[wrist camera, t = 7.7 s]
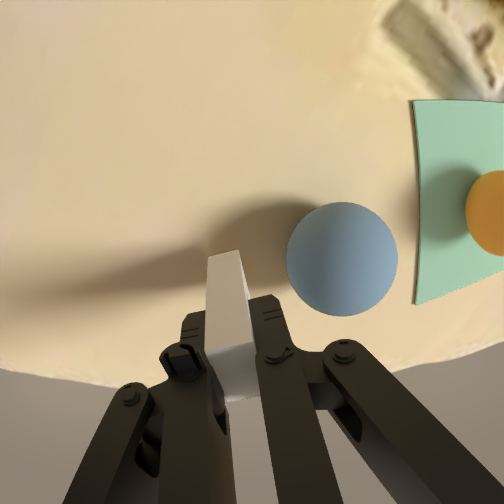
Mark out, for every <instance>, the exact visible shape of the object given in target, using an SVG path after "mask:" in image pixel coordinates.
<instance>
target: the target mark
mask: <svg viewBox="0 0 504 504" xmlns="http://www.w3.org/2000/svg"><path fill="white" fill-rule="evenodd" d="M412 104H413V111H414V119H415V128H416V138H417V150H418V164H419V186H420V238H419V260H418V274H417V286H416V296H415V305H419V304H422V303H424V302H427V301H430V300H432V299H435V298H438V297H440V296H443V295H445V294H448V293H450V292H453V291H455V290H458V289H460V288H463V287H465V286H467V285H470V284H472V283H474V282H477V281H479V280H481V279H484V278H486V277H488V276H490V275H493V274H495V273H497V272H499V271H501V270H503V269H504V256H496V255H493V254H491V253H488V252H487V251H485V250H483V249H482V248H481V247H480V246H479V245H478V244H477V243H476V242H475V240H474V239H473V237H472V236H471V234H470V232H469V229H468V226H467V223H466V217H465V205H466V199H467V196H468V193H469V191H470V189H471V187H472V185H473V184H474V183H475V181H476V180H477V179H478V178H480V177H481V176H482V175H484V174H486V173H488V172H491V171H495V170H503V171H504V103H498V102H483V101H460V100H417V101H412Z"/></svg>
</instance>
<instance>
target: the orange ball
mask: <svg viewBox="0 0 504 504" xmlns="http://www.w3.org/2000/svg"><path fill="white" fill-rule="evenodd" d="M465 217H466V223H467V226H468V229H469V232H470V234H471V236H472V237H473V239H474V240H475V242H476V243H477V244H478V245H479V246H480V247H481V248H482V249H483V250H485V251H487V252H488V253H491V254H493V255H496V256H504V171H503V170H495V171H491V172H488V173H486V174H484V175H482V176H481V177H480V178H478V179H477V180H476V181H475V183H474V184H473V185H472V187H471V189H470V191H469V193H468V196H467V199H466V205H465Z"/></svg>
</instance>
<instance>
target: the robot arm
mask: <svg viewBox="0 0 504 504" xmlns="http://www.w3.org/2000/svg"><path fill="white" fill-rule="evenodd" d="M180 339H181V340H180V342H178V343H174V344H172V345H170V346H169V347H167V348H166V349H165V350H164V351H163V352H162V353H161V355H160V357H159V360H160V362H161V364H162V366H163V367H164V369H165V371H166V373H167V374H168V376H169V377H168V379H167V380H166V381H164V382H162V383H160V384H158V385H156V386H153V387H151V388H148V389H147V387H146V386H145V385H144V384H142V383H138V382H134V383H129V384H126V385H124V386H123V387H121V388H120V389H119V390H118V391H117V392H116V394H115V396H114V397H113V399H112V401H111V403H110V405H109V407H108V409H107V411H106V413H105V415H104V417H103V418H102V420H101V423H100V425H99V426H98V429H97V430H96V433H95V434H94V437H93V439H92V441H91V443H90V445H89V447H88V449H87V451H86V453H85V455H84V457H83V459H82V462H81V464H80V466H79V468H78V470H77V472H76V474H75V477H74V479H73V481H72V483H71V485H70V487H69V490H68V492H67V494H66V496H65V499H64V501H63V503H62V504H237V503H236V492H235V482H234V472H233V461H232V449H231V437H230V425H229V414H228V411H227V408H226V406H225V401H224V396H225V398H226V400H227V402H232V401H237V400H243V399H248V398H253V397H257V396H261V402H262V408H263V413H264V419H265V426H266V432H267V438H268V444H269V450H270V455H271V462H272V467H273V473H274V479H275V485H276V490H277V496H278V501H279V504H343V500H342V497H341V493H340V490H339V487H338V484H337V480H336V477H335V473H334V470H333V467H332V464H331V460H330V457H329V454H328V450H327V447H326V444H325V440H324V437H323V434H322V431H321V427H320V424H319V421H318V418H317V414H316V411H315V410H328V412H329V413H330V414H331V416H332V417H333V419H334V420H335V421H336V423H337V424H338V425H339V427H340V428H341V430H342V431H343V432H344V434H345V435H346V436H347V438H348V439H349V440H350V442H351V443H352V444H353V446H354V447H355V449H356V450H357V451H358V453H359V454H360V455H361V456H362V458H363V459H364V461H365V462H366V463H367V464H368V466H369V467H370V469H371V470H372V471H373V473H374V474H375V475H376V477H377V478H378V479H379V480H380V482H381V483H382V484H383V486H384V487H385V488H386V490H387V491H388V492H389V493H390V495H391V496H392V497H393V499H394V500H395V501H396V503H397V504H504V487H503V486H502V485H501V484H500V482H498V480H497V479H496V478H495V477H494V476H493V475H492V474H491V473H490V472H489V471H488V470H487V469H486V468H485V467H484V466H483V465H482V464H481V463H480V462H479V461H478V460H477V459H476V458H475V457H474V456H473V455H472V454H471V453H470V452H469V451H468V450H467V449H466V448H465V447H464V446H463V445H462V444H461V443H460V442H459V441H458V440H457V439H456V438H455V437H454V436H453V435H452V434H451V433H450V432H449V431H448V430H447V429H446V428H445V427H444V426H443V425H442V424H441V423H440V422H439V421H438V420H437V419H436V418H435V417H434V416H433V415H432V414H431V413H430V412H429V411H428V410H427V409H426V408H425V407H424V406H423V405H422V404H421V403H420V402H419V401H418V400H417V399H416V398H415V397H414V396H413V395H412V394H411V393H410V392H409V391H408V390H407V389H406V388H405V387H404V386H403V385H402V384H401V383H400V382H399V381H398V380H397V379H396V378H395V377H394V376H393V375H392V374H391V373H390V372H389V371H388V370H387V369H386V368H385V367H384V366H383V365H382V364H381V363H380V362H379V361H378V360H377V359H376V358H375V357H374V356H373V355H372V354H371V353H370V352H369V351H368V350H367V349H366V348H365V347H364V346H363V345H362V344H360V343H358V342H357V341H354V340H350V339H340V340H337V341H334V342H332V343H330V344H329V345H328V346H326V348H325V349H324V351H323V352H308V351H304V350H301V349H299V348H297V347H296V346H295V345H294V344H293V342H292V340H291V337H290V333H289V330H288V327H287V324H286V321H285V318H284V314H283V311H282V308H281V305H280V302H279V300H278V299H277V298H276V297H274V296H273V295H272V294H270V295H266V296H262V297H258V298H253V299H251V298H250V293H249V290H248V286H247V282H246V278H245V274H244V270H243V266H242V262H241V258H240V255H239V251H238V250H234V251H230V252H226V253H222V254H217V255H213V256H209V257H208V266H207V288H206V310H204V311H199V312H194V313H190V314H188V315H187V316H186V318H185V319H184V321H183V322H182V328H181V336H180Z"/></svg>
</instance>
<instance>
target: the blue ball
mask: <svg viewBox="0 0 504 504" xmlns="http://www.w3.org/2000/svg"><path fill="white" fill-rule="evenodd" d="M397 263H398V255H397V248H396V243H395V240H394V238H393V235H392V233H391V231H390V229H389V228H388V226H387V225H386V224H385V222H384V221H383V220H382V219H381V218H380V217H379V216H378V215H377V214H375V213H374V212H372V211H371V210H369V209H367V208H366V207H363V206H361V205H358V204H354V203H347V202H337V203H330V204H327V205H323V206H321V207H318V208H316V209H315V210H313V211H311V212H310V213H309V214H307V215H306V216H305V217H304V218H303V219H302V220H301V221H300V222H299V223H298V225H297V226H296V227H295V229H294V231H293V232H292V234H291V237H290V239H289V242H288V246H287V250H286V268H287V273H288V277H289V280H290V282H291V284H292V286H293V288H294V290H295V292H296V293H297V294H298V296H299V297H300V298H301V299H302V300H303V301H304V302H305V303H306V304H308V305H309V306H310V307H312V308H313V309H315V310H317V311H319V312H321V313H324V314H327V315H332V316H351V315H356V314H359V313H362V312H364V311H366V310H368V309H370V308H372V307H373V306H374V305H376V304H377V303H378V302H379V301H380V300H381V299H382V298H383V297H384V296H385V295H386V293H387V292H388V290H389V289H390V287H391V285H392V283H393V280H394V278H395V275H396V270H397Z"/></svg>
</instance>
